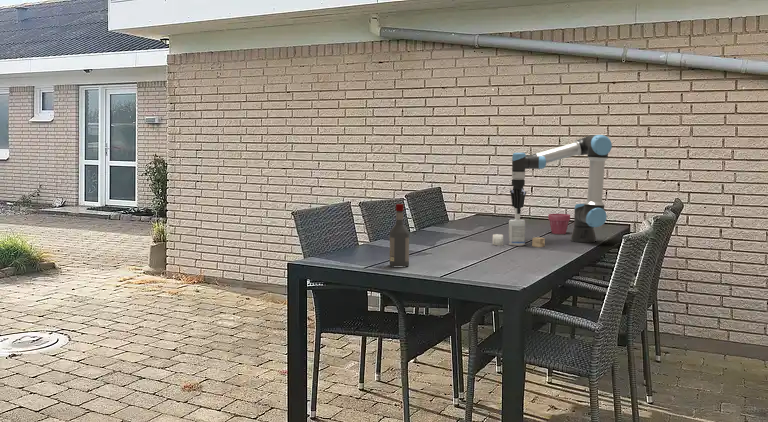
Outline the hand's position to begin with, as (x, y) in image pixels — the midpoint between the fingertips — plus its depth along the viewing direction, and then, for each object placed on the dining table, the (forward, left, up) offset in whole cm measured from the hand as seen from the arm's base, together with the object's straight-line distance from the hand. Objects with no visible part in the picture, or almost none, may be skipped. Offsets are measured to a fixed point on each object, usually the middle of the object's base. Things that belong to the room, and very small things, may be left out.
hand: (517, 219), depth 419 cm
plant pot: (-58, -32, -15) cm, 68 cm away
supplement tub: (0, 0, -16) cm, 16 cm away
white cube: (+10, -5, -15) cm, 19 cm away
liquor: (+96, +35, -15) cm, 103 cm away
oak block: (-8, +10, -15) cm, 20 cm away
